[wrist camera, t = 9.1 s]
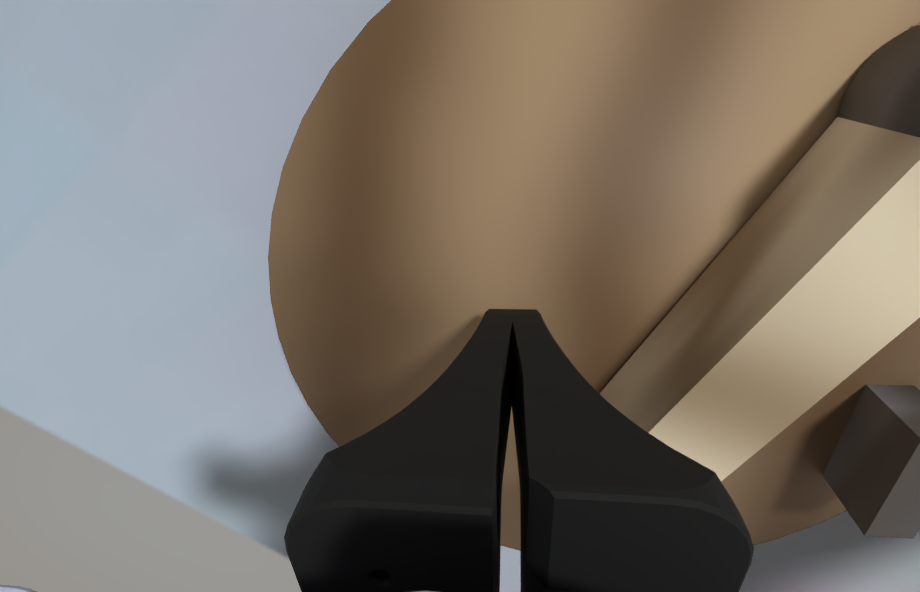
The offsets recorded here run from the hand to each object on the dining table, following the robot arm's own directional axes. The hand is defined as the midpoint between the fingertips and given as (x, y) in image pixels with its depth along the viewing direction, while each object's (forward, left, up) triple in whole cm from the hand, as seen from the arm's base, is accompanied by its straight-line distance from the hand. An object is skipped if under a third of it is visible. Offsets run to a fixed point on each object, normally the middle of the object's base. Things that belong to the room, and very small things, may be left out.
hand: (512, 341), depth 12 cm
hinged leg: (-5, -1, -1) cm, 6 cm away
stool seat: (-3, +1, -3) cm, 4 cm away
